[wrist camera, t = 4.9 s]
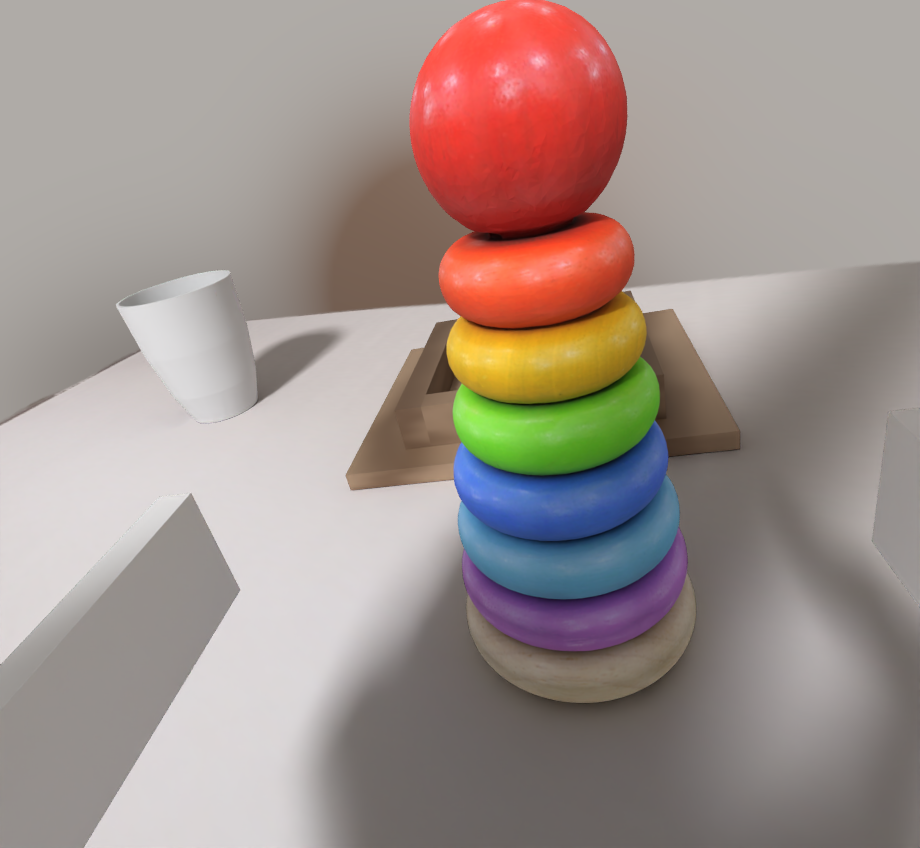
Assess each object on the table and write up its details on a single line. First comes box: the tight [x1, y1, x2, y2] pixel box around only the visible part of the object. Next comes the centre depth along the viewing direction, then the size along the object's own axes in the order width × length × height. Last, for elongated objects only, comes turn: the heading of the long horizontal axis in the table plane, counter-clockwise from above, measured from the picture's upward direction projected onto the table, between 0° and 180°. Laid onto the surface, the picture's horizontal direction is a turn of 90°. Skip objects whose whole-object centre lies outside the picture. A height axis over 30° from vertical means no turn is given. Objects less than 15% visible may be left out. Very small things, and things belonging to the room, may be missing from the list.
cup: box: [116, 270, 258, 423], centre depth 46 cm, size 8×8×10 cm
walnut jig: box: [346, 291, 740, 490], centre depth 38 cm, size 20×18×4 cm
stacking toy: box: [410, 0, 696, 703], centre depth 18 cm, size 8×8×19 cm
